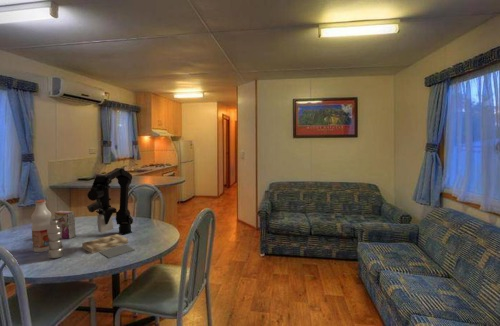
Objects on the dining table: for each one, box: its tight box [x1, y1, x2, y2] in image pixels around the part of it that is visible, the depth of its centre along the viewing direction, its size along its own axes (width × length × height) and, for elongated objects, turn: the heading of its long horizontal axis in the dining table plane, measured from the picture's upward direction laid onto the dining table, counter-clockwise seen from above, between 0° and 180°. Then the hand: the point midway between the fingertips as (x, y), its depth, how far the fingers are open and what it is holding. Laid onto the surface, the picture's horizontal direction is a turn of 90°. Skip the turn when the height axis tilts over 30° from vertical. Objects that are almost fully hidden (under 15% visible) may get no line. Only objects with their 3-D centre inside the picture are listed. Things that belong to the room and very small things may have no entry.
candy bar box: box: [54, 210, 77, 240], centre depth 177 cm, size 11×5×16 cm, turn 72°
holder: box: [81, 233, 129, 254], centre depth 163 cm, size 20×14×2 cm
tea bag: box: [96, 214, 114, 233], centre depth 162 cm, size 4×7×10 cm, turn 139°
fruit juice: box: [30, 199, 52, 253], centre depth 157 cm, size 9×9×28 cm
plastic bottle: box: [47, 218, 65, 259], centre depth 145 cm, size 6×7×20 cm
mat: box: [99, 244, 136, 259], centre depth 153 cm, size 14×12×1 cm
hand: (105, 223), depth 162 cm, fingers closed on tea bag, 4 cm apart
